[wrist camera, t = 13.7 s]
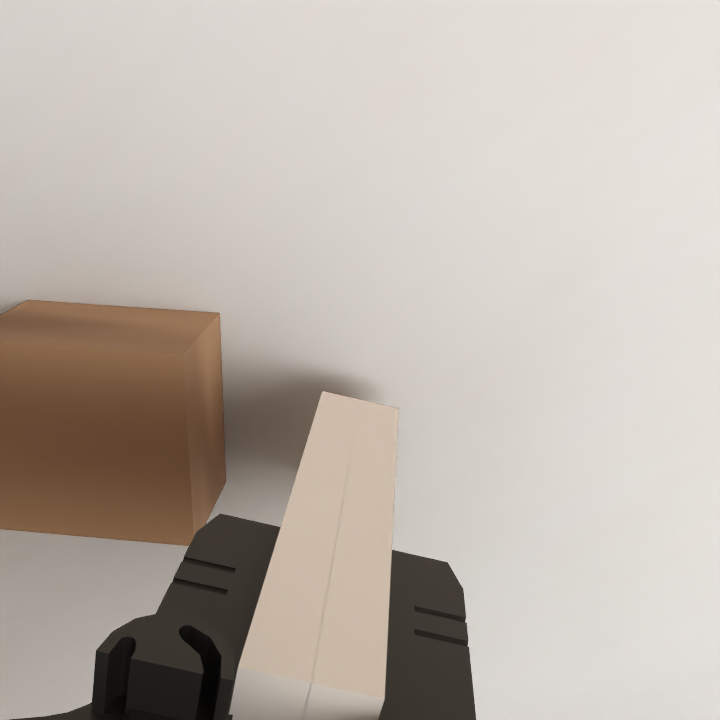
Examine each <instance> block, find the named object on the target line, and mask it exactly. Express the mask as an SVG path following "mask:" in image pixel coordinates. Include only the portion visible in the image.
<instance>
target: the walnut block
mask: <svg viewBox="0 0 720 720" xmlns="http://www.w3.org/2000/svg"><path fill="white" fill-rule="evenodd" d="M225 483H226V468H225V441H224V414H223V387H222V360H221V333H220V313H212V312H198V311H183V310H168V309H153V308H139V307H124V306H109V305H94V304H80V303H65V302H50V301H35V300H27V301H25V302H24V303H22V304H20V305H18V306H16V307H14V308H12V309H10V310H9V311H7V312H5V313H3V314H1V315H0V529H6V530H17V531H28V532H39V533H51V534H62V535H73V536H84V537H96V538H107V539H118V540H129V541H141V542H152V543H163V544H174V545H186V546H190V544H191V542H192V540H193V538H194V536H195V534H196V532H197V531H198V530H199V529H201V528H202V527H203V526H205V524H206V522H207V520H208V518H209V516H210V514H211V512H212V509H213V507H214V505H215V503H216V501H217V499H218V497H219V495H220V493H221V491H222V489H223V487H224V485H225Z"/></svg>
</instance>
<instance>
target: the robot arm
mask: <svg viewBox="0 0 720 720" xmlns="http://www.w3.org/2000/svg"><path fill="white" fill-rule="evenodd" d="M398 411H399V408H395V407H390V406H386V405H382V404H377V403H373V402H368V401H364V400H360V399H355V398H351V397H346V396H342V395H338V394H333V393H329V392H324V391H322V394H321V397H320V400H319V404H318V407H317V410H316V413H315V417H314V420H313V423H312V426H311V430H310V433H309V436H308V440H307V443H306V446H305V449H304V453H303V456H302V459H301V462H300V466H299V469H298V472H297V476H296V479H295V482H294V485H293V489H292V492H291V495H290V498H289V502H288V505H287V508H286V512H285V515H284V518H283V521H282V525H281V527H277V526H273V525H268V524H264V523H259V522H255V521H250V520H246V519H241V518H237V517H233V516H228V515H224V514H219V515H218V516H217V517H215V518H214V519H213V520H211V521H210V522H209V523H207V524H206V525H205V526H203V527H202V528H201V529H199V530H198V531H197V532H196V534H195V536H194V538H193V540H192V542H191V544H190V546H189V548H188V550H187V552H186V554H185V556H184V559H183V562H181V564H180V566H179V568H178V570H177V572H176V574H175V576H174V579H173V582H172V583H171V584H170V586H169V588H168V590H167V592H166V594H165V596H164V598H163V600H162V602H161V604H160V607H159V609H158V611H157V613H156V614H154V615H149V616H145V617H140V618H136V619H134V620H132V621H130V622H128V623H127V624H125V625H123V626H121V627H120V628H118V629H116V630H114V631H113V632H112V633H111V634H110V635H109V636H108V637H107V639H106V640H105V641H104V642H103V643H102V644H101V646H100V647H99V648H98V649H97V650H96V659H95V672H94V685H93V698H92V703H90V704H88V705H86V706H83V707H81V708H78V709H75V710H73V711H70V712H67V713H62V714H57V715H51V716H46V717H34V718H23V719H11V720H476V714H475V704H474V694H473V684H472V674H471V664H470V654H469V647H467V645H468V633H467V623H465V619H466V613H465V603H464V593H463V588H462V586H461V585H460V583H459V581H458V580H457V578H456V576H455V574H454V573H453V571H452V569H451V568H450V566H449V564H448V563H447V562H443V561H439V560H434V559H430V558H425V557H421V556H416V555H412V554H407V553H403V552H399V551H394V550H392V535H393V515H394V494H395V473H396V453H397V432H398Z"/></svg>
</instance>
